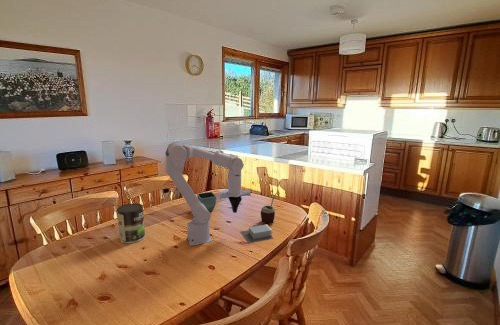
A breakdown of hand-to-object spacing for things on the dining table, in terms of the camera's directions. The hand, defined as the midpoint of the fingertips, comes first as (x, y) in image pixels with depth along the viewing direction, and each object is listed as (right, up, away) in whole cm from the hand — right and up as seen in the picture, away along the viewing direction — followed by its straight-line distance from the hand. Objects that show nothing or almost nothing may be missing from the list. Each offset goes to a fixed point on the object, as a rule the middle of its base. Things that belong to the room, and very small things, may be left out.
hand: (234, 211), depth 117 cm
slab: (+8, -9, -1) cm, 12 cm away
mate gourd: (+16, -8, +14) cm, 23 cm away
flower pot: (-17, -4, +27) cm, 32 cm away
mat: (+10, -11, 0) cm, 15 cm away
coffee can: (-45, -11, -3) cm, 46 cm away
